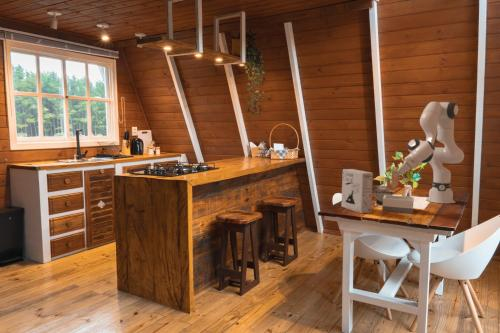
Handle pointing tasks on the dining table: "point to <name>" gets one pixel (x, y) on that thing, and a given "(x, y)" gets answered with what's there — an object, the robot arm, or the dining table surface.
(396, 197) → the socket box
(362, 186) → the cereal box
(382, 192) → the food container
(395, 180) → the peg
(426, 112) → the robot arm
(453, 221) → the dining table surface
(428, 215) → the dining table surface
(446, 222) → the dining table surface
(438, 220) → the dining table surface
